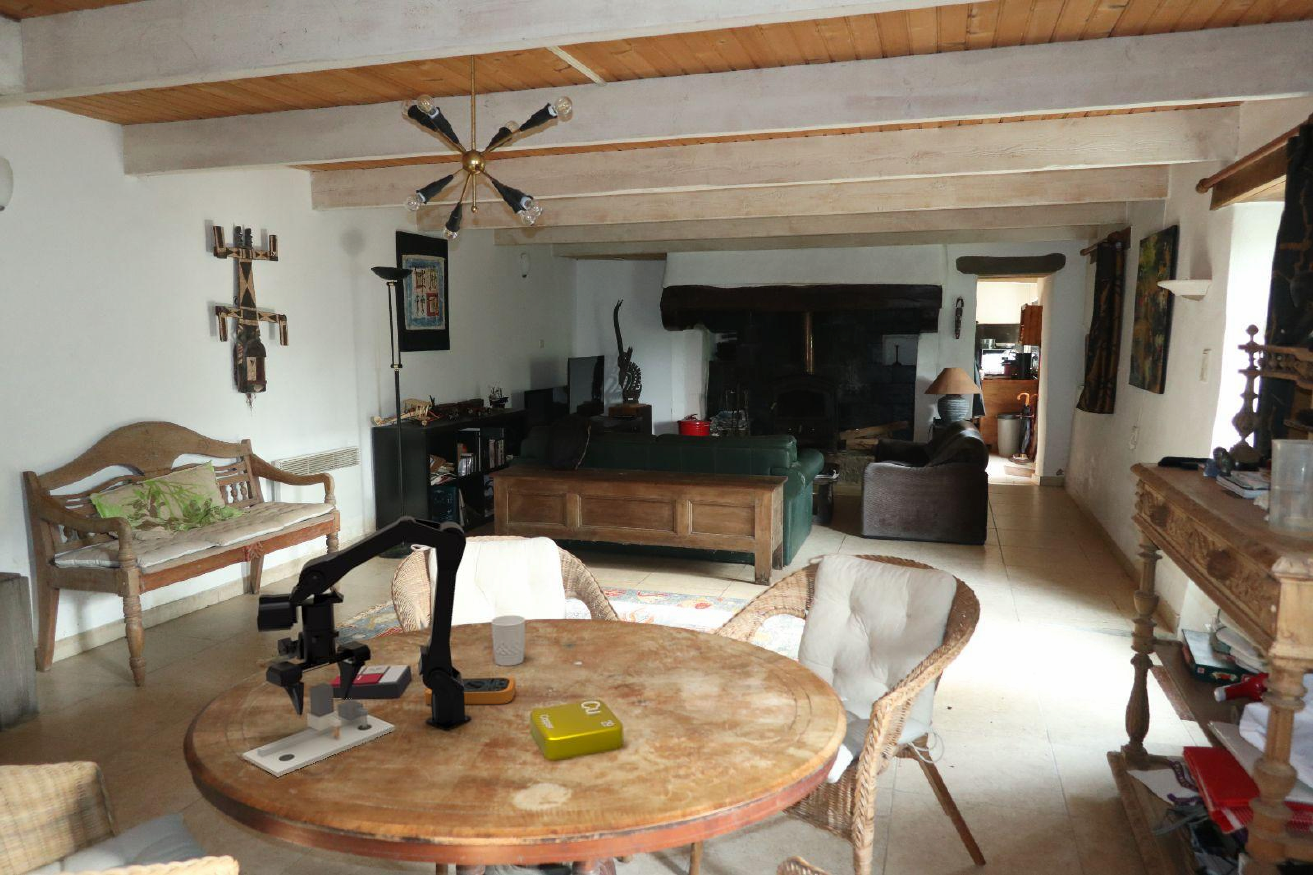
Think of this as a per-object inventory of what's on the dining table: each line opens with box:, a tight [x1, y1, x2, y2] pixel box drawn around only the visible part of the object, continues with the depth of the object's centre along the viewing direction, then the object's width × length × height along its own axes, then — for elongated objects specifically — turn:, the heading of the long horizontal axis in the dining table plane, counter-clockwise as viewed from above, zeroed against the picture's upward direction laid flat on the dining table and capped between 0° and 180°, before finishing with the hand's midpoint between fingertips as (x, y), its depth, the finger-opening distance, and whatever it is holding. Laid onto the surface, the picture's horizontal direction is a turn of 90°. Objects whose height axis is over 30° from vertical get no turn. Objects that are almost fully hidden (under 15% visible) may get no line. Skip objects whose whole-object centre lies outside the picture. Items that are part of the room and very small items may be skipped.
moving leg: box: [306, 682, 342, 737], centre depth 168 cm, size 7×4×8 cm, turn 52°
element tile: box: [529, 699, 624, 761], centre depth 168 cm, size 15×15×5 cm
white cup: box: [490, 614, 526, 667], centre depth 210 cm, size 8×8×10 cm
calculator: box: [329, 664, 413, 700], centre depth 194 cm, size 11×4×15 cm
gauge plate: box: [241, 699, 396, 778], centre depth 166 cm, size 12×24×5 cm, turn 142°
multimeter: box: [424, 676, 516, 706], centre depth 188 cm, size 9×18×3 cm, turn 92°
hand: (322, 706), depth 169 cm, fingers open, 9 cm apart
